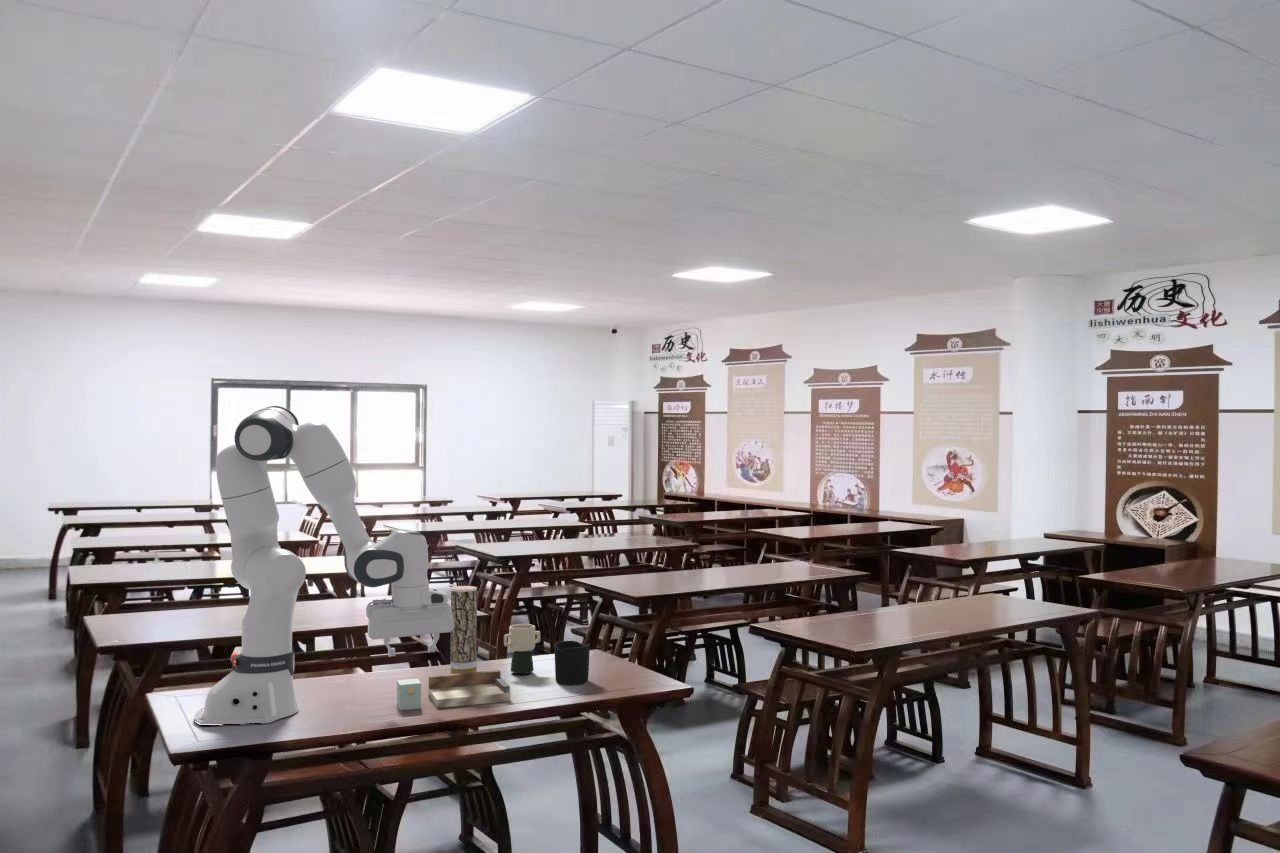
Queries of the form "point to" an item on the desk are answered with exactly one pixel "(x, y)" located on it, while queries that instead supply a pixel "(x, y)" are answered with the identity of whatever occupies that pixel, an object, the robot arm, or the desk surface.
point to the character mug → (522, 646)
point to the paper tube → (464, 629)
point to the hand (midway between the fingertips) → (411, 654)
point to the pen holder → (571, 662)
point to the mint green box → (408, 694)
